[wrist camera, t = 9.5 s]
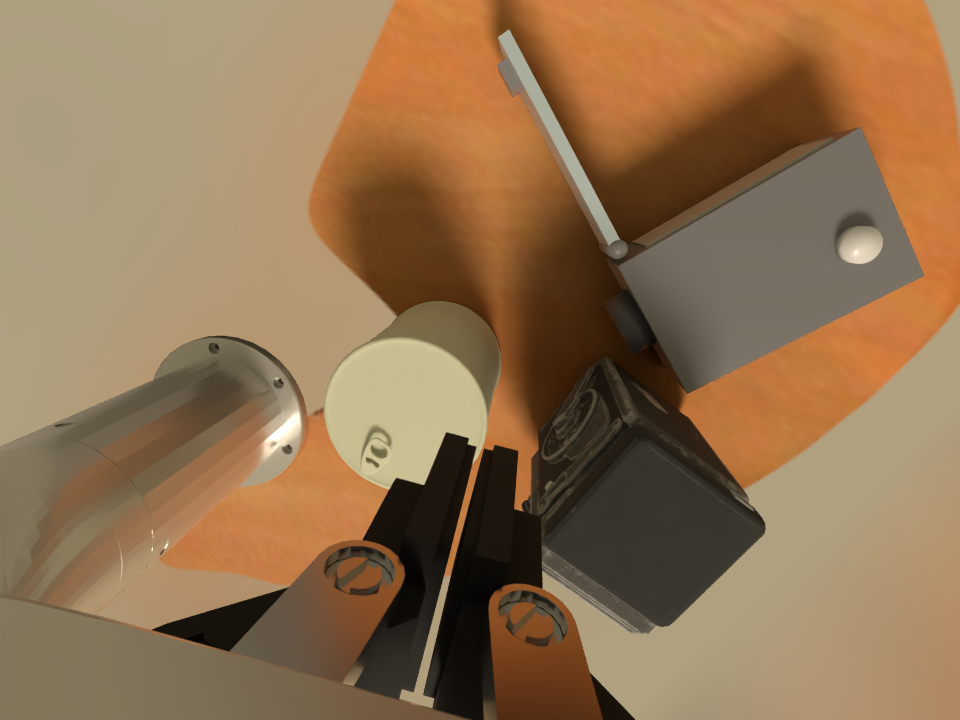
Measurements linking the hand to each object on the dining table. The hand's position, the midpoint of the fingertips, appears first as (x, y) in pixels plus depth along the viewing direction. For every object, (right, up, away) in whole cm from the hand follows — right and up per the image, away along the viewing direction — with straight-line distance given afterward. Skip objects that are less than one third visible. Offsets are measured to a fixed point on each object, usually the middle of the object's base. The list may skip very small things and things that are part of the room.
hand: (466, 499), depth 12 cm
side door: (+6, +16, +23) cm, 29 cm away
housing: (+17, +10, +24) cm, 31 cm away
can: (-3, +3, +28) cm, 28 cm away
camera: (+9, -2, +28) cm, 30 cm away
